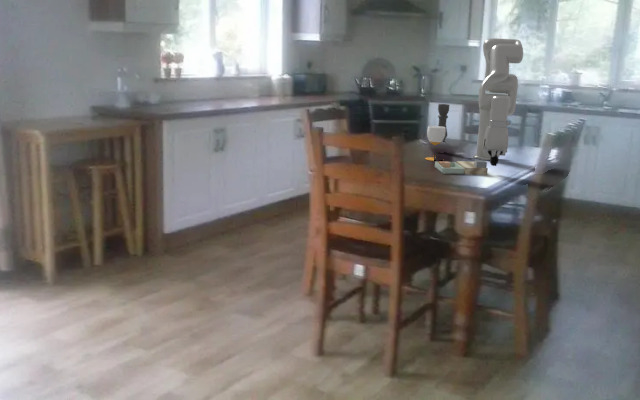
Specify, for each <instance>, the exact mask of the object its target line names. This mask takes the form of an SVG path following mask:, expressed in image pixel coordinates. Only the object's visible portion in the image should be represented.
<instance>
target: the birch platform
mask: <svg viewBox="0 0 640 400" xmlns="http://www.w3.org/2000/svg"><path fill="white" fill-rule="evenodd" d="M456 163H457V164H458V165H460V166H461V167H462V168H464V174H463V175H473V176H474V175H475V176H478V175H479V176H488V167H486V168H476V167H475V166H474V161H468V160H467V161H465V160H464V161H463V160H461V161H460V160H457V161H456Z"/></svg>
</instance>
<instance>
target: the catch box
mask: <svg viewBox="0 0 640 400" xmlns="http://www.w3.org/2000/svg"><path fill="white" fill-rule="evenodd" d="M438 162H439V161H434V168H435V169H436V170H438V171H439V172H440V173H441V174H443V175H465V174H464V168H462V167H461V166H460V165H458V164H457V163H456V162H457V161H456V162H455V161H449V162H450V163H451V165H450V168H443V167H442V166H441V165H440V164H439V163H438Z"/></svg>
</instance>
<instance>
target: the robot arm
mask: <svg viewBox="0 0 640 400" xmlns="http://www.w3.org/2000/svg"><path fill="white" fill-rule="evenodd" d="M482 51H483V56H484V59H485V72H484V79H483V81H482V82H481V84H480V86H479V88H478V107H479V119H478V120H479V123H478V134H477V143H476V153H475V154H473V155H472V159H473V158H474V159H475V160H484V161H489V163H490V165H491V166H493V167H497V165H498V163H499V158H500V156H503V157H504V156H506V154H507V153H508V148H509V128H508V126H510V125H511V122H509V121H508V116H513V115H514V114H515V111H516V107H517V98H518V97H517V95H518V89H519V88H518V87H519V80H518V76H517V75H516V74H512V73H510V64H520V63H521V62H522V61H523V59H524V48H523V44H522V42H521V40H519V39H514V38H513V39H511V38H487V39H485V40H484V41H483V44H482ZM486 92H487V93H486Z"/></svg>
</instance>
